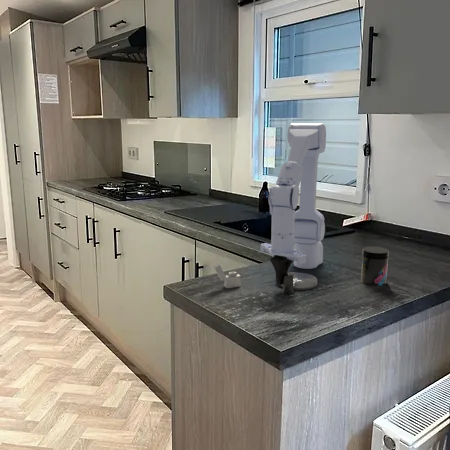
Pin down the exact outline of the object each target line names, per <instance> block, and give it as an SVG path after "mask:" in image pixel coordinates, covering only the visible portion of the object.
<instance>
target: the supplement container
mask: <svg viewBox="0 0 450 450" xmlns="http://www.w3.org/2000/svg"><path fill="white" fill-rule="evenodd" d="M389 253H390V251H389V249H387V248H385V247H380V246H364V247H362V259H361V271H360V272H361V275H360V282H361V283H362V284H364V285H368V286H375V287H376V286H377V287H380V286H385V285H387V279H388V267H389V265H388V263H389Z"/></svg>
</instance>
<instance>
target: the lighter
mask: <svg viewBox="0 0 450 450" xmlns="http://www.w3.org/2000/svg"><path fill="white" fill-rule="evenodd" d="M213 267H214V269H215V273H217V276H218V278H219V279H220V280H221V281H224V283H223V285H224V288H226V289H231V288H237V287H241V286H242V285H241V284H242V283H241V281H242V279H241V275H240V274H239V273H238V272H236V271H229V272H228V275H226V274H225V272H224V270H223V268H222V267H221V265H220V264H219V263H216V264H215V265H213Z"/></svg>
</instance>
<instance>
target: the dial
mask: <svg viewBox="0 0 450 450" xmlns="http://www.w3.org/2000/svg"><path fill="white" fill-rule="evenodd" d="M275 282H276V281H275ZM276 285H277V286H278V287H281V288H282V293H283V294H284V295H292V294H294V291H304V290H305V291H306V290H307V291H308V290H312V289H315V288H316V287H318V278H317V277H316V276H314V275H313V274H311V273H310V274H308V273H307V272H306V273H304V272H296V271H295V272H294V271H293V272H291V271H290V272H287V273H285V274H283V285H279V284H277V282H276Z"/></svg>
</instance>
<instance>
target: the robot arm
mask: <svg viewBox="0 0 450 450" xmlns="http://www.w3.org/2000/svg"><path fill="white" fill-rule="evenodd" d="M286 136H287V142H288V144H289V147H290V149H289V153H288V159H287V162H284V163H283V164H282V165H281V168H280V171H279V174H278V176H277V180H276V183H275V184H274V185H273V186H271V187H270V189H269V191H268V199H267V200H268V205H269V215H270V216H271V232H270V233H271V237H270V238H271V239H270V243H269V242H268V243H267V242H265V243H261V244H260V250H259V251H260V252H263V253H264V252H265V253H268V255H271V256H273V257H270V258H269V259H270V260H269V261H270V263H271V264H272V266H273V269H274V271H275V282H277V283H276V285H277V284H279V285H283V274H285V273H289V272H288V271H289V269H290V266H291V265H292V263H293V265H294V267H296V268H299V269H306V270H307V269H309V270H311V269H316V268H318V266H320V265H321V264H323V258H324V245H323V243H322V240H323V239H324V237H325V233H326V225H325V217H324V214H322V213H321V212H320V211H319V210H317V209H316V199H317V184H318V183H317V181H318V164H319V163H318V161H319V156H320V154H322V153H324V152H325V149H326V143H327V142H326V141H327V128H326V125H325V124H324V123H323V122H320V123H294V122H291V123H290V124H289V125H288V127H287V134H286ZM298 202H299V203H298ZM298 204H299V209H297V208H298V207H297V206H298ZM296 209H297V210H296ZM279 285H278V286H279Z"/></svg>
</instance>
